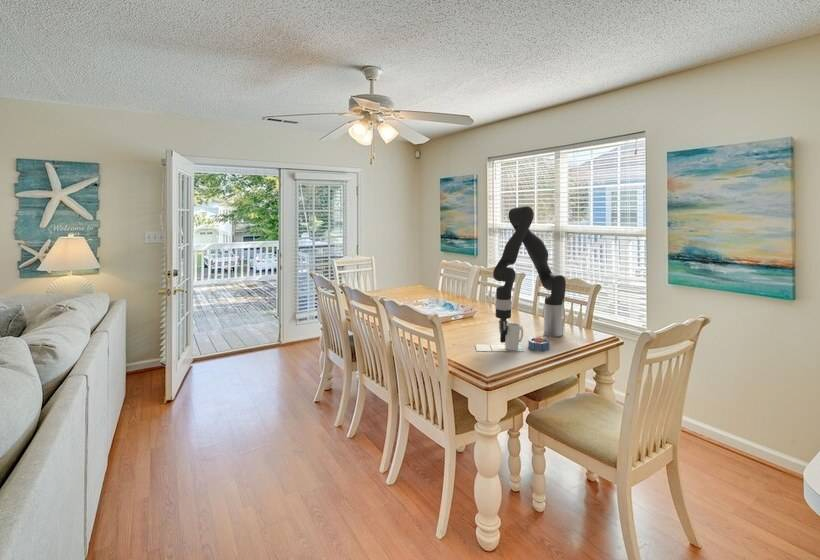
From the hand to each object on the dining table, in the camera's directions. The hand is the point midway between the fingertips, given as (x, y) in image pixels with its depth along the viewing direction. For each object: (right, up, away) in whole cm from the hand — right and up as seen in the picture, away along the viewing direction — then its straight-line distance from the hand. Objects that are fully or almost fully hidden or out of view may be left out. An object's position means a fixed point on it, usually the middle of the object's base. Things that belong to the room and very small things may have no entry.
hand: (502, 342), depth 209 cm
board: (-2, -3, +1) cm, 4 cm away
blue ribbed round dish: (+18, -3, -1) cm, 18 cm away
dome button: (+18, -2, -1) cm, 18 cm away
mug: (+5, -3, -1) cm, 6 cm away
